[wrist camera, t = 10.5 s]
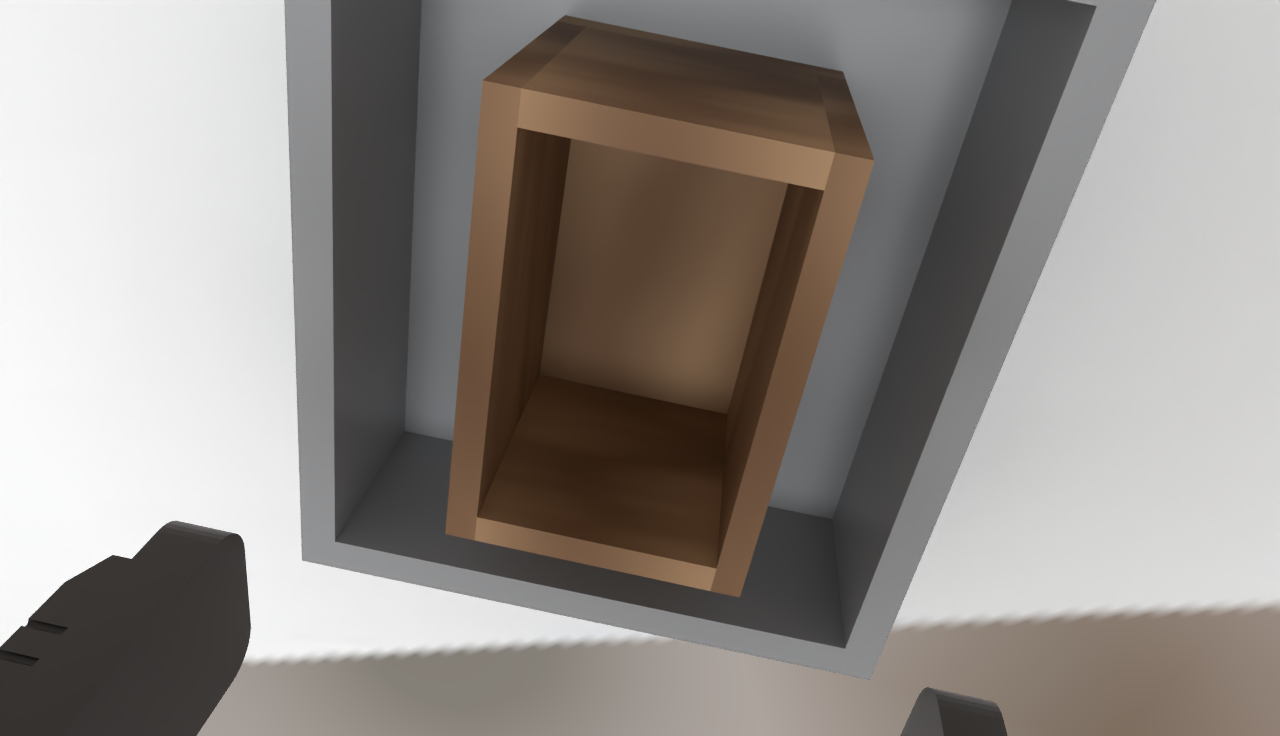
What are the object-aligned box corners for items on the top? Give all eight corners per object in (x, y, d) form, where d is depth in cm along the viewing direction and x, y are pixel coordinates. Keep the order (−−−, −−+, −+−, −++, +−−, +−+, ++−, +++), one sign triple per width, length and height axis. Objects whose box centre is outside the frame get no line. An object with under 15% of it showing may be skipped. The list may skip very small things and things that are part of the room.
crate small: (843, 71, 19) (874, 160, 14) (745, 421, 24) (739, 597, 18) (564, 15, 19) (482, 80, 14) (521, 374, 24) (445, 533, 18)
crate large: (1067, -68, 18) (1173, -41, 13) (850, 529, 26) (869, 679, 21) (403, -194, 19) (277, -211, 14) (386, 433, 26) (302, 560, 22)
